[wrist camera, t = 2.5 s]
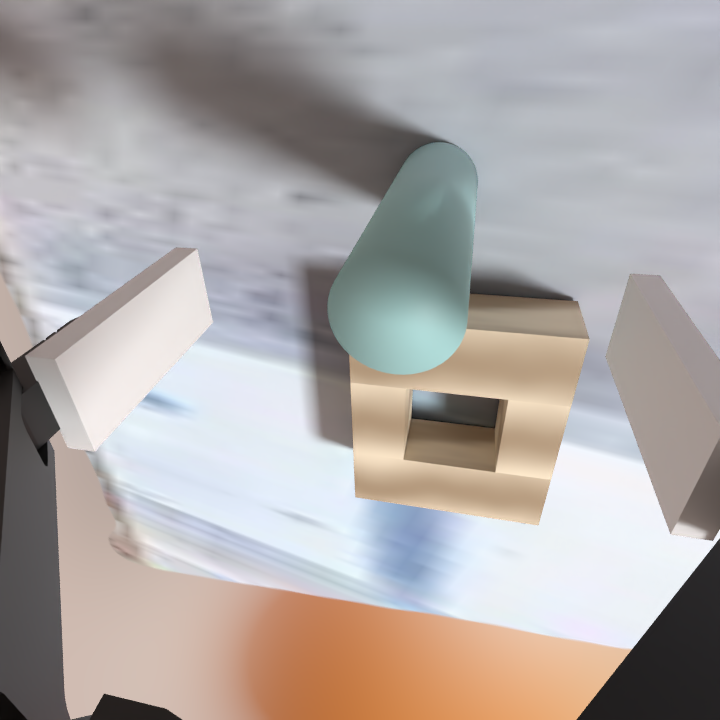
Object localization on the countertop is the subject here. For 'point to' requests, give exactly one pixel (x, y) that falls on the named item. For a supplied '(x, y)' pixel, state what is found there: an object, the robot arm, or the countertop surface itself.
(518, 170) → the countertop surface
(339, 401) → the countertop surface
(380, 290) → the dowel
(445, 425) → the socket block
